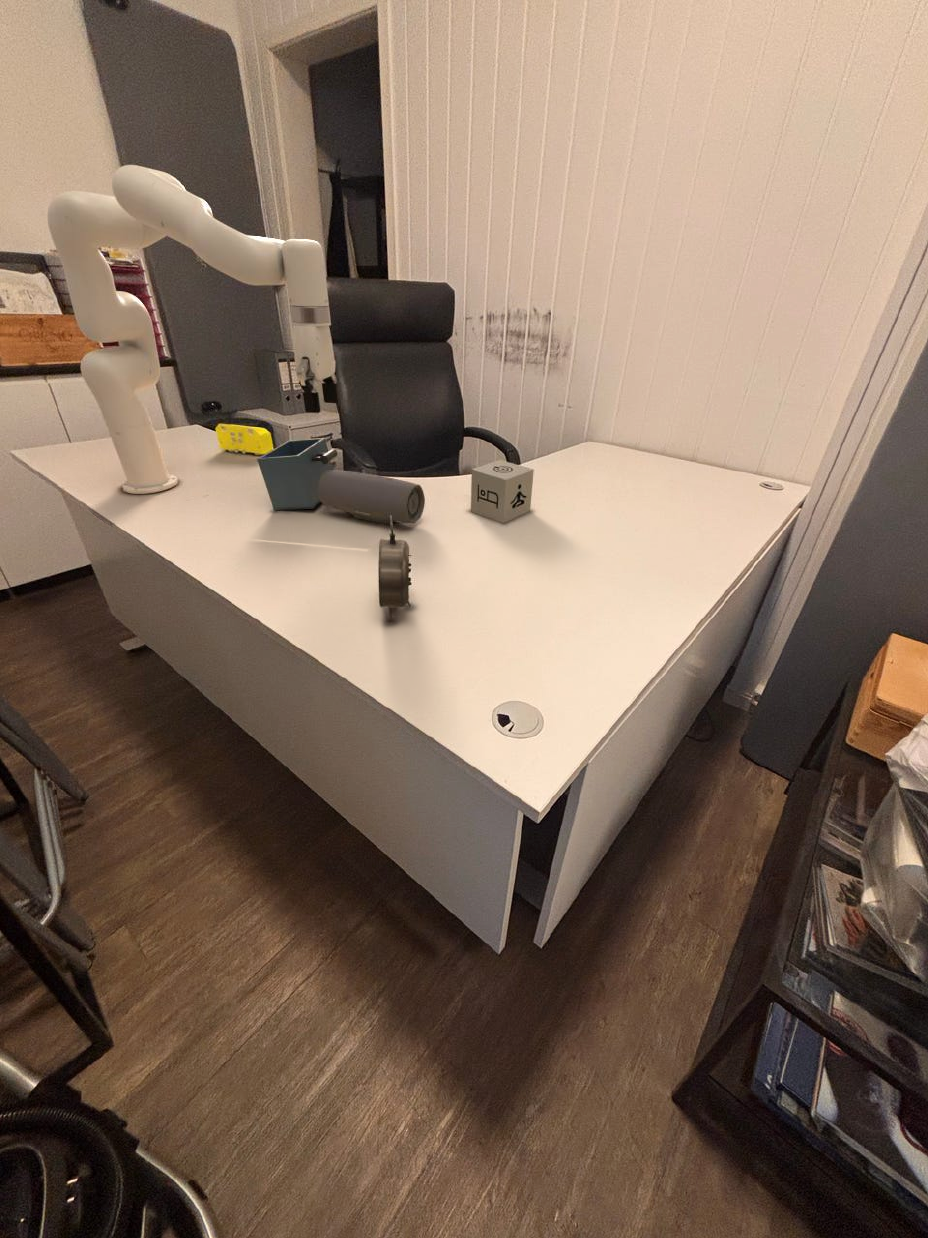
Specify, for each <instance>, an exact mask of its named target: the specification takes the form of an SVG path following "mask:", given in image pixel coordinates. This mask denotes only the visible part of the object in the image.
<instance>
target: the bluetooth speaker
mask: <svg viewBox="0 0 928 1238" xmlns="http://www.w3.org/2000/svg"><path fill="white" fill-rule="evenodd" d="M318 495H319V499H320V503H322V504H323V505H324V506H326V507H329V508H332V509H334V510H339V511H342V512H346V513H348V514H349V513H350V514H351V516H352V517H354V518H357V519H361V520H365V521H371V522H374V523H375V522H376V523H382V524H388V525H389V524H390V516H392V522H393V523H394V522H396V523H397V522H398V523H405V524H416V522H418V520H420V519H421V517H422V515H423V514H424V513H423V512H424V509H425V504H426V503H425V502H426V497H425V493H424V490H423V487H422V485H420V484H417V483H414V482H410V481H408V480H407V481H406V480H402V479H398V478H393V477H389V476H388V477H387V476H382V475H377V474H372V473H364V472H359V471H351V470H341V469H333V470H327V471H325V472H324V473H323V474H322V476H321V479H320V482H319V490H318Z"/></svg>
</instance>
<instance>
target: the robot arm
mask: <svg viewBox="0 0 928 1238" xmlns="http://www.w3.org/2000/svg"><path fill="white" fill-rule="evenodd" d="M111 187H112V188H111V189H112V192H113V195H108V194H107V195H106V194H102V193H97V192H89V191H81V190H69V191H64V192H61V193H58V194H57V195H56V196H54V198H52V200H51V201H50V203H49V206H48V209H47V226H48V229H49V232H50V236H51V239H52V242H53V245H54V247H55V249H56V252H57V254H58V258H59V260H60V263H61V266H62V269H63V274H64V278H65V282H66V286H67V290H68V294H69V298H70V302H71V305H72V309H73V310H72V311H73V313H74V317H75V320H76V324H77V326H78V328H79V330H80V332H81V333H82V334H83V336H84V337H86V338H87V339H89V340H90V341H92V342H95V343H101V344H107V343H117V342H118V346H112V347H111V346H110V347H103V348H98V349H94V350H92V351H90V352H88V353H86V354H85V355H84V356H83V357H82V359H81V360H80V361H81V363H80V372H81V375H82V378H83V380H84V383H86V385H87V387H88V389H89V390H90V392H91V394H92V396H93V397H94V400H95V401H96V404H97V406H98V407H99V410H100V412H101V415H102V417H103V419H104V423H105V425H106V427H107V430H108V433H109V436H110V438H111V441H112V443H113V447H114V449H115V452H116V454H117V456H118V459H119V462H120V465H121V468H122V470H123V473H124V476H125V478H126V480H125V481H123V482H122V484H121V487H122V490H123V491H124V492H125V493H127V494H135V495H144V494H145V495H148V494H155V493H160V492H163V491H167V490H170V489H171V488H174V487H175V486H176V485H177V484H178V481H179V480H178V478H177V477H176V475H173V474H169V471H168V467H167V465H166V462H165V458H164V455H163V452H162V449H161V445H160V443H159V440H158V437H157V434H156V431H155V428H154V424H153V422H152V421H153V420H152V419H151V416H150V413H149V411H148V409H147V407H146V405H145V404H144V403H143V401H141V399H140V398H139V397H138V396H137V394H136V393H135V392H138V391H141V390H145V389H148V388H151V387H153V386H155V385H157V383H158V382H159V380H160V377H161V363H160V359H159V353H158V347H157V342H156V337H155V330H154V326H153V321H152V318H151V316H150V312H149V311H148V309H147V308H146V306H145V305H144V304H143V302H142V301H141V300H140V299H139V298H138V297H136V296H135V295H134V294H132V293H129V292H127V291H121V290H117V289H116V284H115V279H114V274H113V271H112V269H111V267H110V265H109V262H108V261H107V259H106V258H105V256H104V255H103V253H102V251H100V250H99V249H101V248H113V249H128V250H140V249H145V248H148V247H149V246H151V245H153V244H155V243H157V242H159V241H160V240H162V239H163V238H164V239H165V237H169V238H170V239H172V240H174V241H176V242H178V243H180V244H181V245H184V246H185V247H188V248H189V249H191V250H192V251H193V253H195V255H196V256H197V257H199V258H200V259H201V261H203V263H205V264H207V265H209V266H210V267H212V268H213V269H215V270H217V271H219V272H221V273H223V274H225V275H227V276H229V277H231V278H232V279H235V280H237V281H239V282H241V283H243V284H245V285H250V286H254V287H255V286H282V285H286V288H287V289H286V290H287V296H288V304H289V310H290V317H291V324H292V343H293V344H292V345H293V356H294V357H293V358H294V365H295V373H296V378H297V379H298V384H299V386H300V391H301V393H302V398H303V403H304V411H305V412H306V413H312V414H319V413H321V403H320V396H319V391H317V388H318V382H320V381H322V382H321V390H322V397H323V402H324V403H325V404H338V403H339V398H338V397H339V395H338V389H337V383H338V382H337V381H338V380H337V377H336V374H337V370H336V366H337V365H336V364H337V361H336V359H335V353H334V347H333V340H332V333H331V329H330V326H332V321H331V313H330V312H331V311H330V302H329V292H328V284H327V275H326V266H325V256H324V251H323V247H322V245H321V244H320V243H319V242H318V241H315V240H312V239H298V238H297V239H296V238H293V239H286V240H282V239H277V238H270V237H263V236H255V235H247V234H245V233H242V232H240V231H238V230H237V229H235V228H233V227H231V226H229V225H227V224H225V223H223V222H221V221H219V220H218V219H216V218H215V217H214V214H213V211H212V208H211V207H210V205H209V204H208V203H207V202H206V201H205V200H204V199H203V198H202V197H199V196H197V195H195V194H193V193H191V192H190V191H187V190H186V189H185V187H184V185H182V184H181V182H180V181H179V180H178V179H176V178H175V176H173V175H171V174H169V173H167V172H165V171H161V170H157V169H154V168H149V167H145V166H140V165H136V164H125V165H123V166H120V167H119V168H117V169H116V171H114V174H113V176H112V179H111Z"/></svg>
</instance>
